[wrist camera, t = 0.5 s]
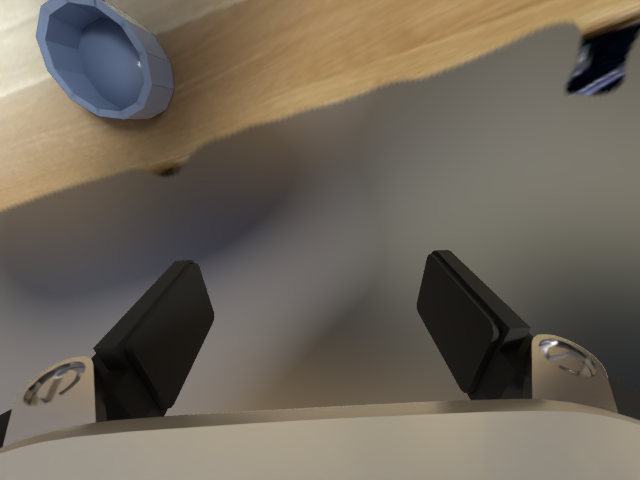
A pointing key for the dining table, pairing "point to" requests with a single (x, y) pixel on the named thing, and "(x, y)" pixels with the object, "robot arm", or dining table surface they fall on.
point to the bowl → (104, 59)
